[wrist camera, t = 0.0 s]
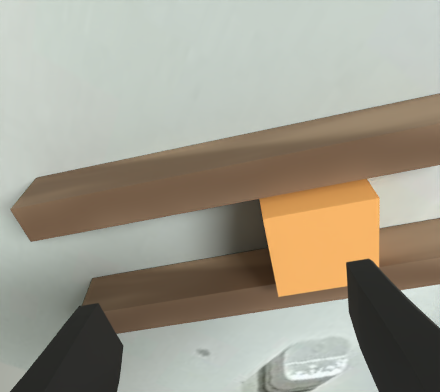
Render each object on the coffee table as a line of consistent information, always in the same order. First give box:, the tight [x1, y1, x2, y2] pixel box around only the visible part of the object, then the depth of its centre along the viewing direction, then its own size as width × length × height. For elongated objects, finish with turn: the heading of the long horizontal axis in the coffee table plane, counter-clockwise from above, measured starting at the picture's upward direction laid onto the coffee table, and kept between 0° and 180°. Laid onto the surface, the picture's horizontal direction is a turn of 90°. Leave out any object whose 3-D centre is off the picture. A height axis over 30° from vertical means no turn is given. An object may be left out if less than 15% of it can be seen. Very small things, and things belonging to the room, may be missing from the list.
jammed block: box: [260, 179, 379, 297], centre depth 19 cm, size 5×5×4 cm
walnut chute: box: [10, 94, 440, 334], centre depth 20 cm, size 10×22×3 cm, turn 103°
